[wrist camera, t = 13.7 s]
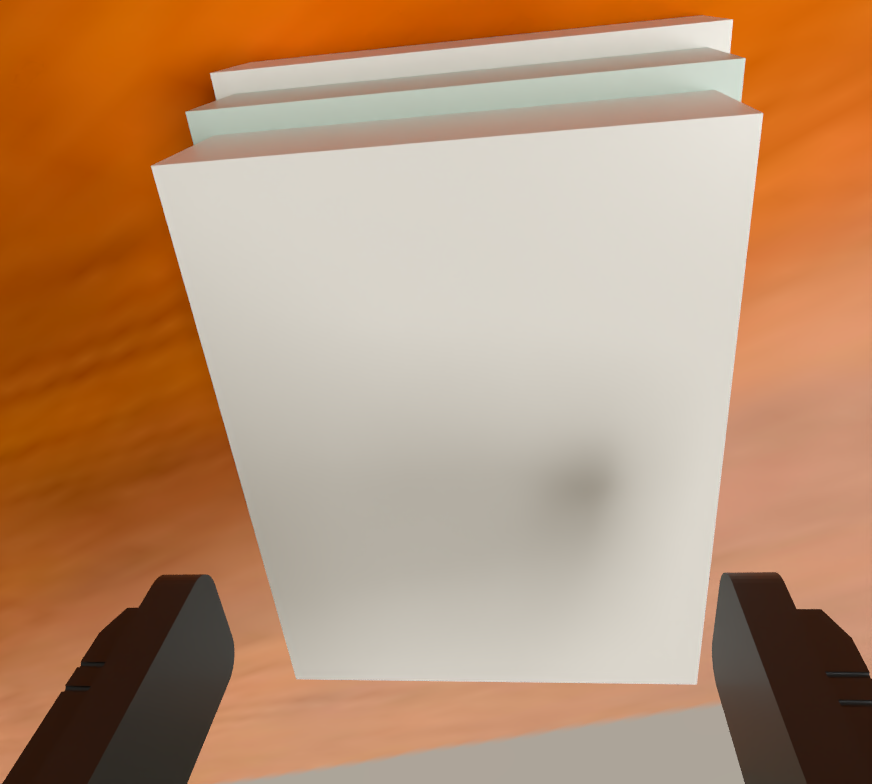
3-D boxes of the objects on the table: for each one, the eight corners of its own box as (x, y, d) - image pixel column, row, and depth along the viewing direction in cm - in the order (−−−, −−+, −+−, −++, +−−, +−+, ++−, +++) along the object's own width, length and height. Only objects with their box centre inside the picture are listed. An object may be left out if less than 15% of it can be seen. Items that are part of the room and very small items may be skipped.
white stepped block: (249, 62, 20) (77, 109, 12) (701, 15, 18) (844, 33, 10) (338, 496, 27) (267, 704, 19) (666, 490, 25) (735, 712, 18)
